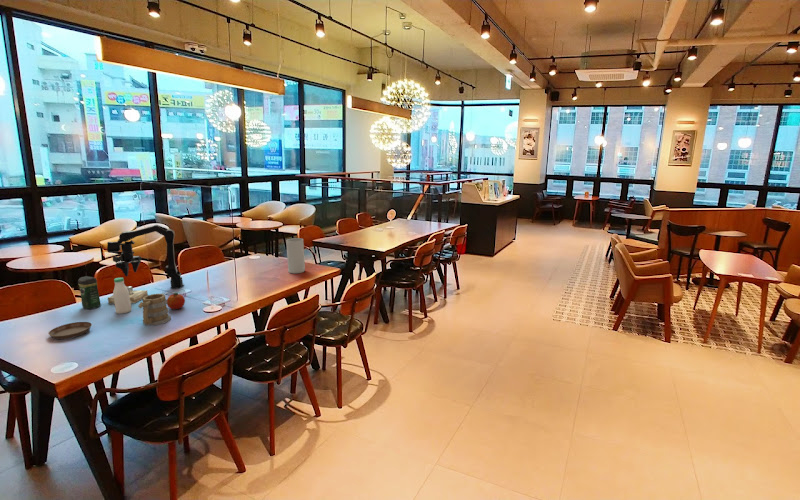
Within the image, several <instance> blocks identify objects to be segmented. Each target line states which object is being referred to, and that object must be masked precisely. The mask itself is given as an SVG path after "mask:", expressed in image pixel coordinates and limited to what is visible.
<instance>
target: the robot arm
mask: <svg viewBox="0 0 800 500" xmlns="http://www.w3.org/2000/svg"><path fill="white" fill-rule="evenodd" d="M155 232H156V233H157V234H160V235H161V236H163V237H164V239H165V243H166V247H167V248H166V249H167V263H168V265H166V266H165V271H166V272H165V274H166V275H167V276H168V277H169V278H170V289H181V288H182V287H184V286H185V284H184V283H183V276H182V273H181V272H180V271H178V269H177V264H176V262H175V247H174V241H175V235H176V234H175V233H176V232H175V230H174V229H172V228H167V227H164V226H161V225H159V224H155V225H151V226H147V227H144V228H139V229H136V230H124V231H122V232H121V233H120V234H119V235H118V238H119V239H118V240H117V241H107V248H106V250H107V253H119V252H120V251H121V253H120V256H119V255H115V256H112V261H113V262H115V268H117V269H120V270H121V271H122V273H123V274H124V276H125V277H128V276H129V269H130V266H129V264H131V267H132V270H133V273H137V271H138V269H139V266H140V263H142V262H141V261H143V258H142V257H141V256H140V255H134V254H135V251H133V245H135V244H136V242H135V241H134V240H133V239H135V238H137V237H140V236H145V235H147V234H151V233H155Z"/></svg>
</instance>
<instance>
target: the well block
mask: <svg viewBox="0 0 800 500" xmlns="http://www.w3.org/2000/svg"><path fill="white" fill-rule="evenodd" d="M148 295H149V294H148V290H145V289H144V290H143V289H142V290H134V289H133V294H132V295H129V296H130V302H131V304H136V303H137V302H139V301H141V300H143V299H142V298H143V297H145V296H148ZM107 301H108V304H114V297H113V294H112V295H110V296H109V297H107Z"/></svg>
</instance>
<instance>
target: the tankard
mask: <svg viewBox="0 0 800 500" xmlns="http://www.w3.org/2000/svg"><path fill="white" fill-rule="evenodd" d="M167 299H168V298H166V295H165V293H153V294H148V296H145V297H143V298H142V299H141V300H142V301H140V303H139V304H138V305H137V306H138V308H139V309H143V310H142V323H143V324H144V325H145V326H158V325H162V324H166V323H167V322H169V321H170V320H171V319H172V317H171V315H170V314H169V307H168V305H167V304H168V303H167Z"/></svg>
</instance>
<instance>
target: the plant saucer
mask: <svg viewBox="0 0 800 500" xmlns="http://www.w3.org/2000/svg"><path fill="white" fill-rule="evenodd" d="M92 325H93V323H91V321H90V322H89V321H75V322H71V323H65V324H62V325H60V326H56V327H54V328H52V329H51V330H49V331H48V336H49V337H51V338H53V339H55V340H68V339H74V338H77V337H80V336H82V335H85V334H86V333H88V331H89V330H90V329H91V328H92Z"/></svg>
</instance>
